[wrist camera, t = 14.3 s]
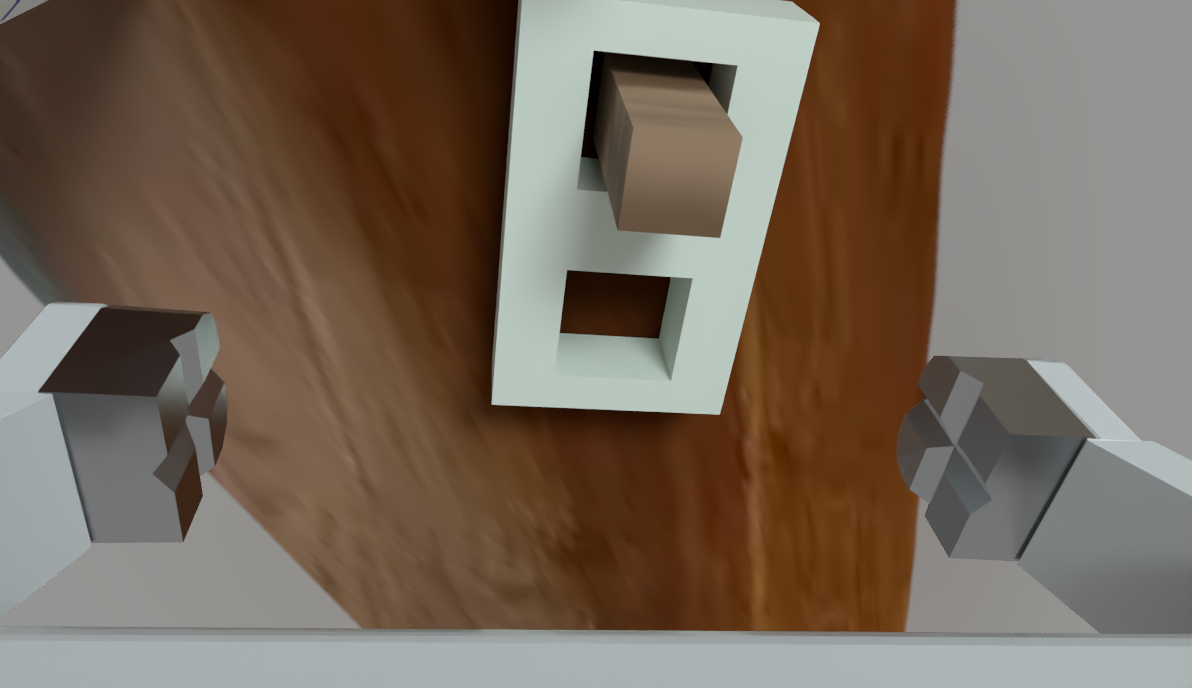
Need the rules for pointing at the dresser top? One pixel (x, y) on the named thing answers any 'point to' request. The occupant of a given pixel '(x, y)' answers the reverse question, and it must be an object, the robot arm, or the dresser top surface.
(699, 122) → the wood grain block
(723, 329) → the socket board
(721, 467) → the dresser top surface
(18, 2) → the cylindrical container
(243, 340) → the dresser top surface
